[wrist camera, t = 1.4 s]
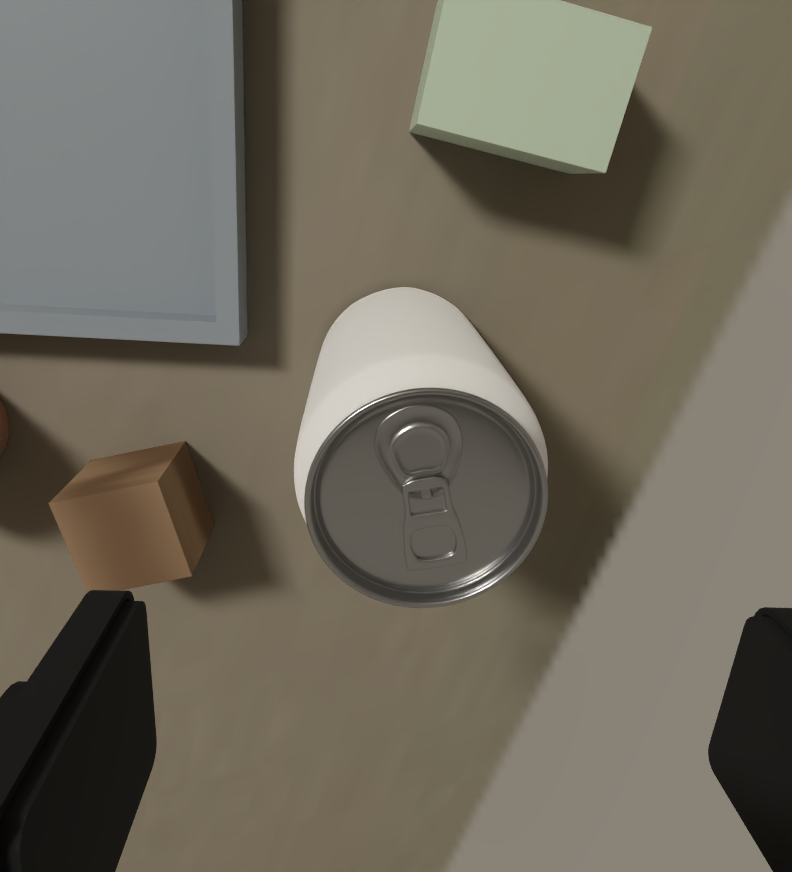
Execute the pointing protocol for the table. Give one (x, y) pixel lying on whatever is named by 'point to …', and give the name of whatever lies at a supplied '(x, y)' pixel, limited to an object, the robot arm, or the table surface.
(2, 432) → the brown egg
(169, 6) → the tray
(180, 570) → the walnut block
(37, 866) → the robot arm
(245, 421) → the table surface
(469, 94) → the sage block
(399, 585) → the can
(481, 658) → the table surface
